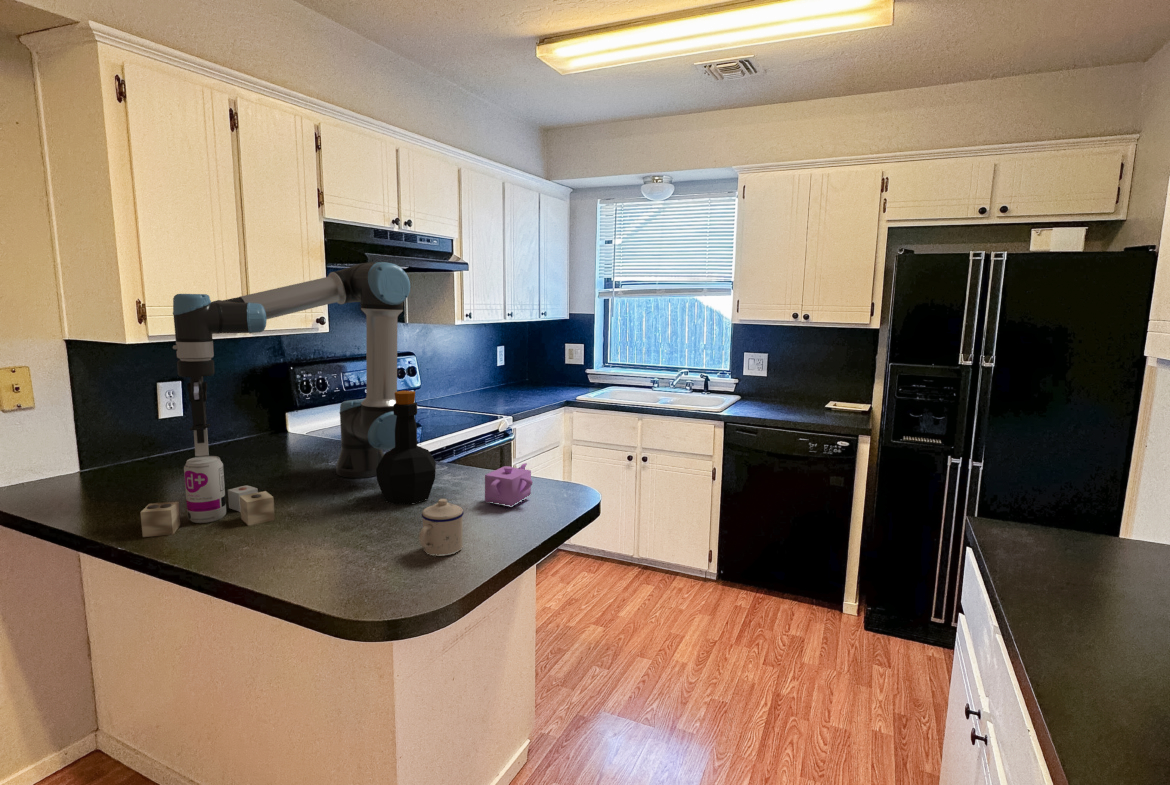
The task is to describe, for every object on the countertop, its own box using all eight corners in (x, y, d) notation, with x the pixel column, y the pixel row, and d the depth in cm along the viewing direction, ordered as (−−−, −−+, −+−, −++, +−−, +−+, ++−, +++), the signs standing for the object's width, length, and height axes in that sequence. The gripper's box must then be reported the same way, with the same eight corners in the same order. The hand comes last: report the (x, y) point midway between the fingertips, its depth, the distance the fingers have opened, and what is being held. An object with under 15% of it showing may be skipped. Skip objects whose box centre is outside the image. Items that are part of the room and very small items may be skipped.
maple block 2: (266, 513, 160) (265, 490, 159) (274, 520, 155) (273, 496, 154) (241, 519, 156) (239, 495, 155) (248, 526, 151) (246, 501, 150)
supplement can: (209, 525, 151) (204, 465, 148) (179, 522, 152) (174, 462, 150) (234, 514, 159) (230, 456, 156) (206, 510, 160) (201, 454, 158)
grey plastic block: (247, 503, 167) (246, 484, 166) (258, 506, 164) (257, 487, 164) (229, 508, 163) (227, 489, 162) (240, 512, 160) (238, 492, 159)
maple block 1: (180, 525, 151) (178, 500, 150) (173, 534, 145) (170, 509, 144) (151, 527, 149) (149, 502, 148) (142, 537, 143) (140, 511, 142)
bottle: (445, 502, 171) (444, 394, 167) (384, 511, 163) (381, 398, 158) (427, 485, 185) (426, 385, 180) (370, 493, 177) (367, 389, 172)
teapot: (507, 489, 184) (507, 456, 182) (548, 496, 178) (549, 462, 176) (471, 507, 168) (471, 471, 166) (515, 516, 162) (516, 479, 160)
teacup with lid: (440, 538, 147) (439, 490, 145) (471, 546, 143) (471, 497, 141) (404, 557, 136) (403, 506, 134) (437, 566, 132) (436, 513, 130)
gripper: (179, 356, 153) (185, 450, 156) (174, 362, 141) (181, 463, 145) (214, 355, 156) (220, 447, 160) (212, 361, 145) (219, 460, 149)
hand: (202, 454), depth 153 cm, fingers closed
